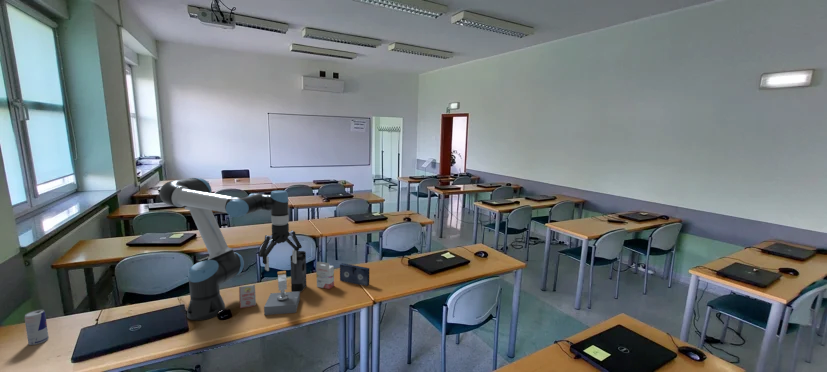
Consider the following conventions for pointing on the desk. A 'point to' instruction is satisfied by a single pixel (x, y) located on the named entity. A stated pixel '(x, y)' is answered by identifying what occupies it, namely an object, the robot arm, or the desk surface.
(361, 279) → the vhs cassette tape
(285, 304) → the grey flat square block
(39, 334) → the energy drink
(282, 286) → the t key
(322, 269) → the ink cartridge box
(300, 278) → the electronic device
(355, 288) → the desk surface
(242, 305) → the white red carton
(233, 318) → the desk surface
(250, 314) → the desk surface
